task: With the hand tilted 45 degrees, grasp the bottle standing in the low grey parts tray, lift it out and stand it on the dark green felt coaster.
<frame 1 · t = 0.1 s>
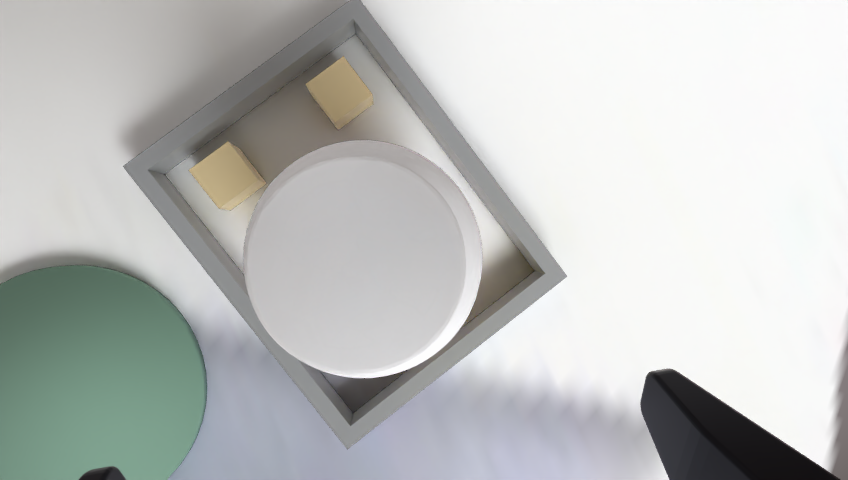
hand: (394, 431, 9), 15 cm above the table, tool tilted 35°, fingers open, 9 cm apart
parts tray: (354, 223, 24), on the table
coaster: (78, 390, 23), on the table
supplement bottle: (374, 249, 24), resting in parts tray
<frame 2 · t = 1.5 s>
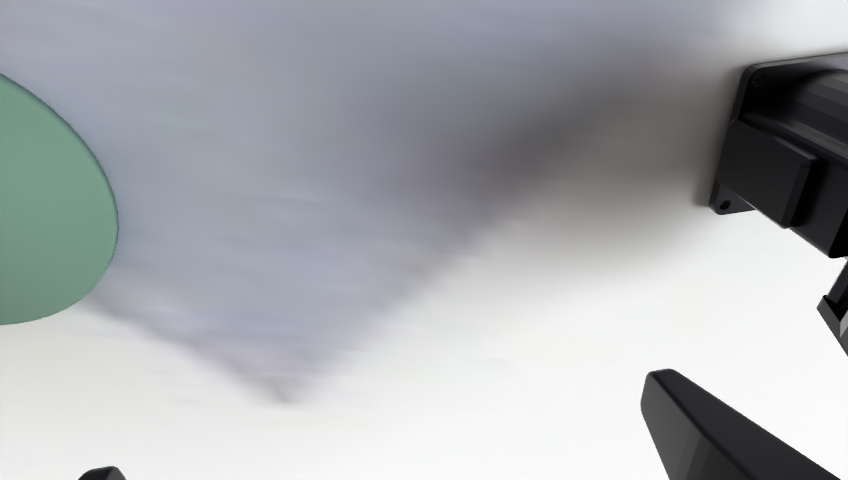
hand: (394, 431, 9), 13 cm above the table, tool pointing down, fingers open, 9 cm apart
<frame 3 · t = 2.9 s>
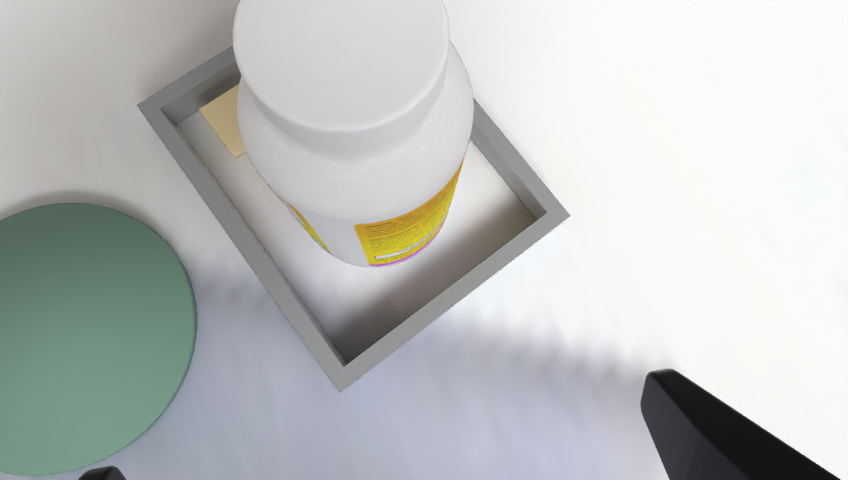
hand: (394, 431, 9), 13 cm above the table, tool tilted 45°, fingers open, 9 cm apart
parts tray: (355, 172, 24), on the table
coaster: (63, 332, 22), on the table
supplement bottle: (375, 199, 24), resting in parts tray
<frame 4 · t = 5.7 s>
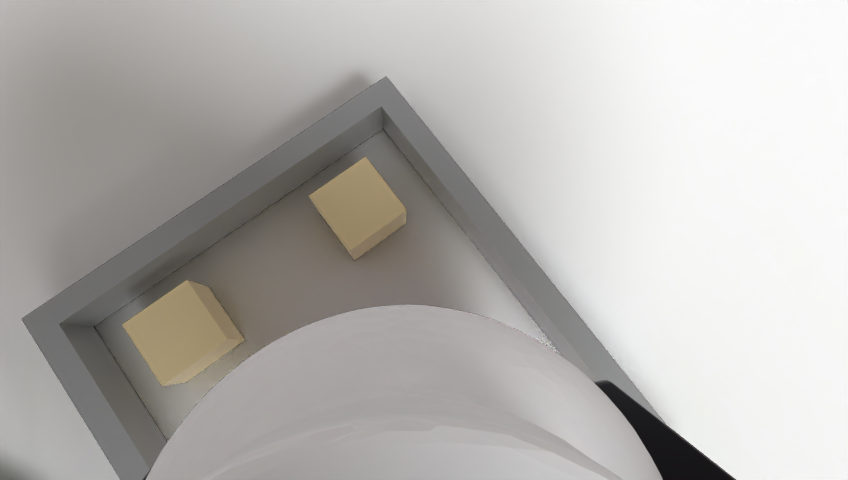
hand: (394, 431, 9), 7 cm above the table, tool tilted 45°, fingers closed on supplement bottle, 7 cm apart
parts tray: (375, 403, 15), on the table
supplement bottle: (405, 444, 15), resting in parts tray, touching gripper
when the fingers open (8 cm above the table, at t = 9.3 s): supplement bottle stays where it is, resting on coaster.
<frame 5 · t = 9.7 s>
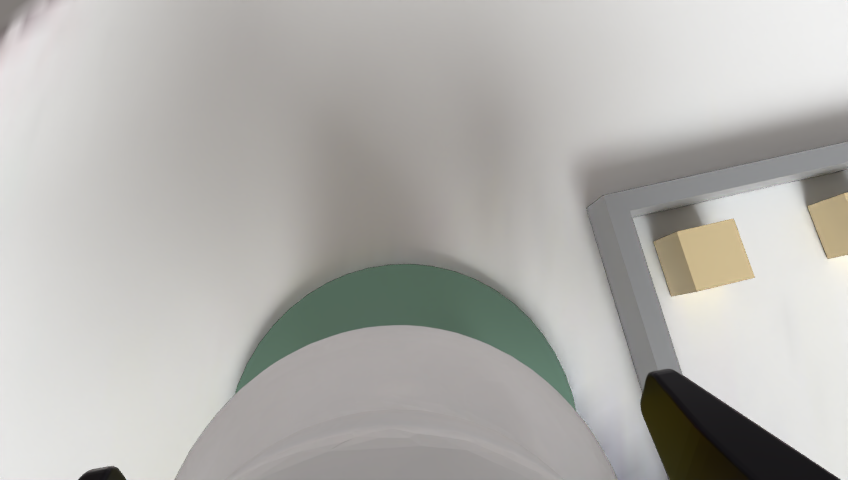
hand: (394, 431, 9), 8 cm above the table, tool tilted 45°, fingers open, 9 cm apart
parts tray: (816, 379, 18), on the table
coaster: (405, 435, 17), on the table
supplement bottle: (401, 444, 16), resting on coaster
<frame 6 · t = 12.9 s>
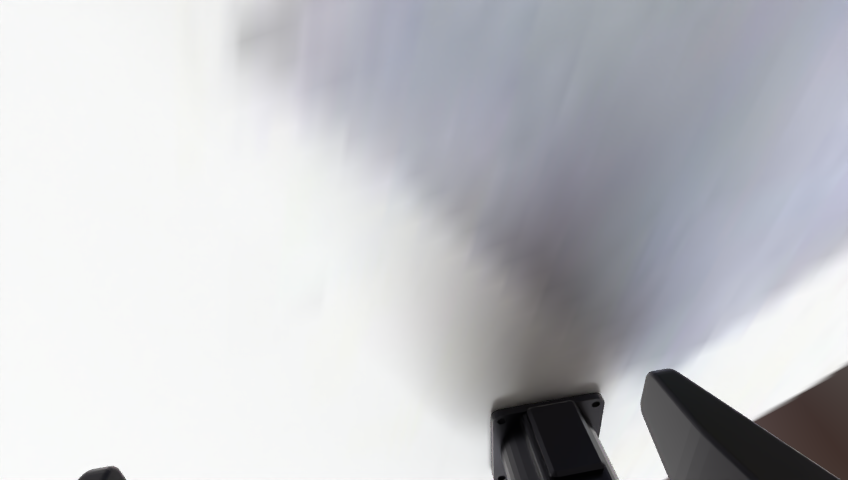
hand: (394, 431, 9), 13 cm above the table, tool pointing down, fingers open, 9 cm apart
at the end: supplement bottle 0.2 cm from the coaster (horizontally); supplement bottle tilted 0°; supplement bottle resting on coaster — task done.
